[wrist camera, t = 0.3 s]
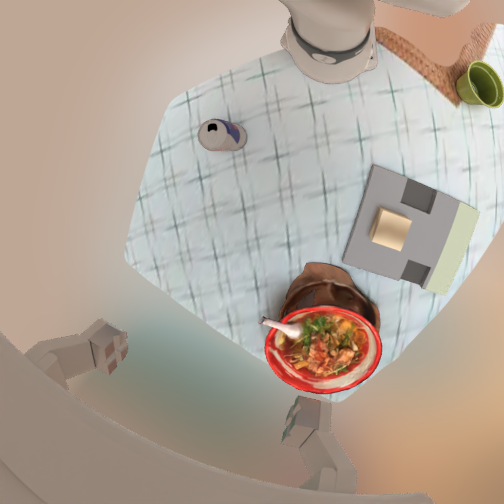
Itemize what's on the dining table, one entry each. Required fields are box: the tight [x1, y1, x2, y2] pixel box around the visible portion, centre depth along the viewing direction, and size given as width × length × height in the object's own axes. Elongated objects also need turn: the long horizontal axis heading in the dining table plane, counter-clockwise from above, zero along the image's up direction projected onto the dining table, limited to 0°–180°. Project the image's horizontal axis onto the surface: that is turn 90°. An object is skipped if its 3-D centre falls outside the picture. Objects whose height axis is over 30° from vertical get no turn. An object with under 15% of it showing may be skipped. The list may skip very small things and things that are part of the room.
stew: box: [258, 263, 382, 394], centre depth 53 cm, size 28×24×16 cm
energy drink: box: [198, 119, 247, 151], centre depth 46 cm, size 5×5×12 cm
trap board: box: [342, 165, 480, 296], centre depth 48 cm, size 20×26×2 cm
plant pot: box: [456, 60, 504, 108], centre depth 31 cm, size 9×9×9 cm
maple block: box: [369, 206, 412, 251], centre depth 47 cm, size 6×6×4 cm
